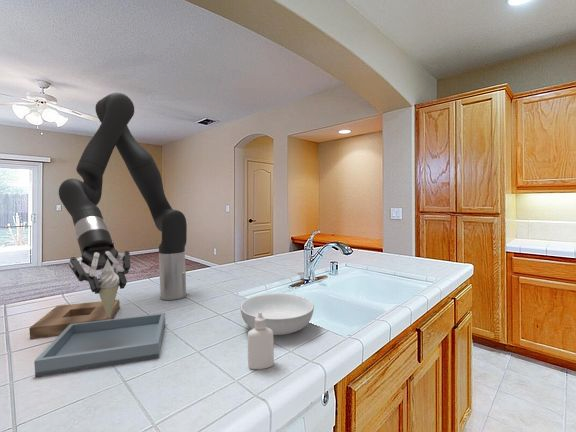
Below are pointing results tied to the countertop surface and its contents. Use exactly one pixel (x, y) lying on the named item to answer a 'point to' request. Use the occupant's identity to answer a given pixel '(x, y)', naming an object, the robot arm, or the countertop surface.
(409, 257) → the countertop surface
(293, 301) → the serving bowl
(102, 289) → the ice cream cone
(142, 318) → the slate blue tray
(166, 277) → the robot arm
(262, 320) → the eye dropper bottle
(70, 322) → the walnut board
